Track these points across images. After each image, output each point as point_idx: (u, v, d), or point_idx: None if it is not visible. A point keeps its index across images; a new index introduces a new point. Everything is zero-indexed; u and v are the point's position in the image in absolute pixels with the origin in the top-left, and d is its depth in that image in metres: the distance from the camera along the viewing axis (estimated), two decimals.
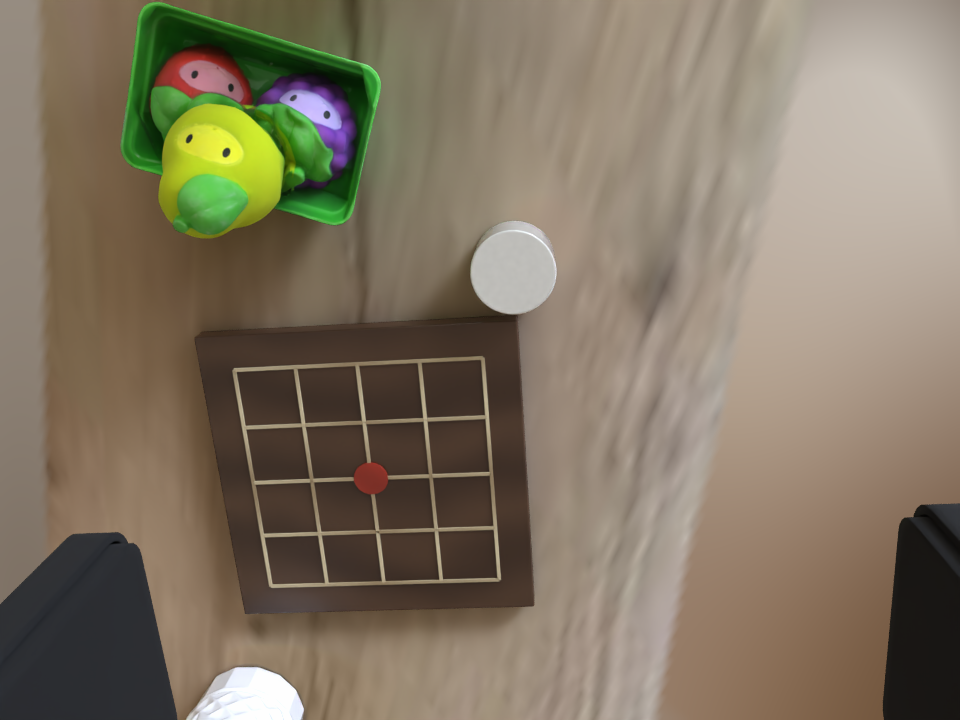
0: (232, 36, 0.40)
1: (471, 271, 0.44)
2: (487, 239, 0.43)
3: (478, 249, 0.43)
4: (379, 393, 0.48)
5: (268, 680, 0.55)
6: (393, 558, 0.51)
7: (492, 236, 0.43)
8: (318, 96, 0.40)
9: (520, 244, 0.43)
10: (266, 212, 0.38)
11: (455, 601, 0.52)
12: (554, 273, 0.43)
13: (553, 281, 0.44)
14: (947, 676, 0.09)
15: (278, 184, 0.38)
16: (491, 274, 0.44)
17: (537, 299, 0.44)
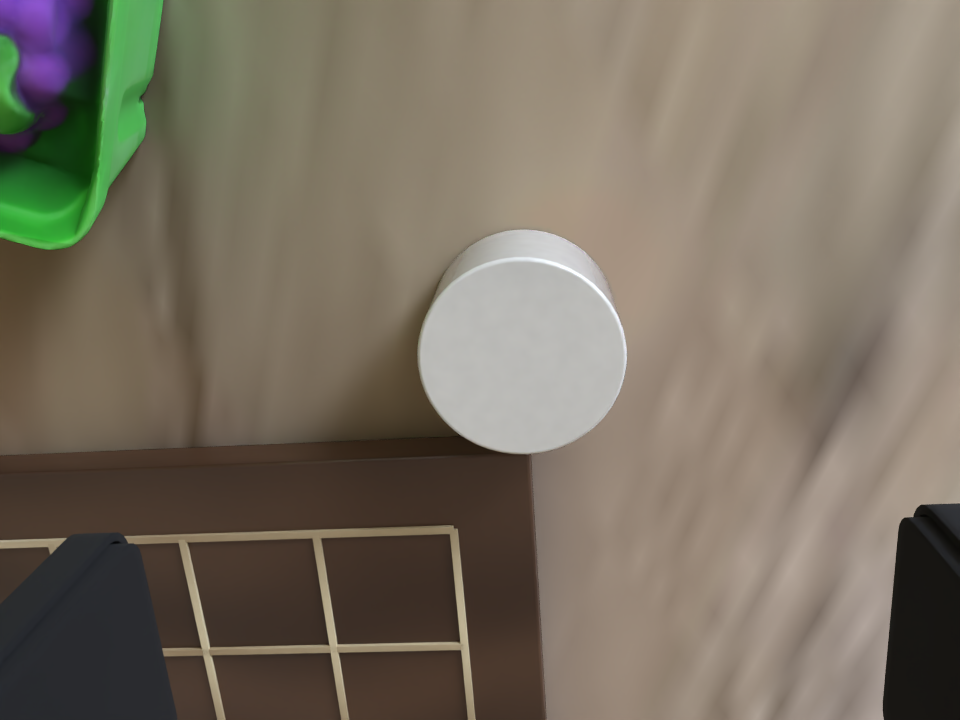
0: None
1: (420, 355, 0.18)
2: (458, 279, 0.17)
3: (436, 303, 0.18)
4: (234, 596, 0.22)
5: None
6: None
7: (470, 272, 0.17)
8: None
9: (540, 292, 0.17)
10: None
11: None
12: (622, 361, 0.18)
13: (619, 380, 0.18)
14: (947, 676, 0.09)
15: None
16: (469, 362, 0.18)
17: (579, 421, 0.18)
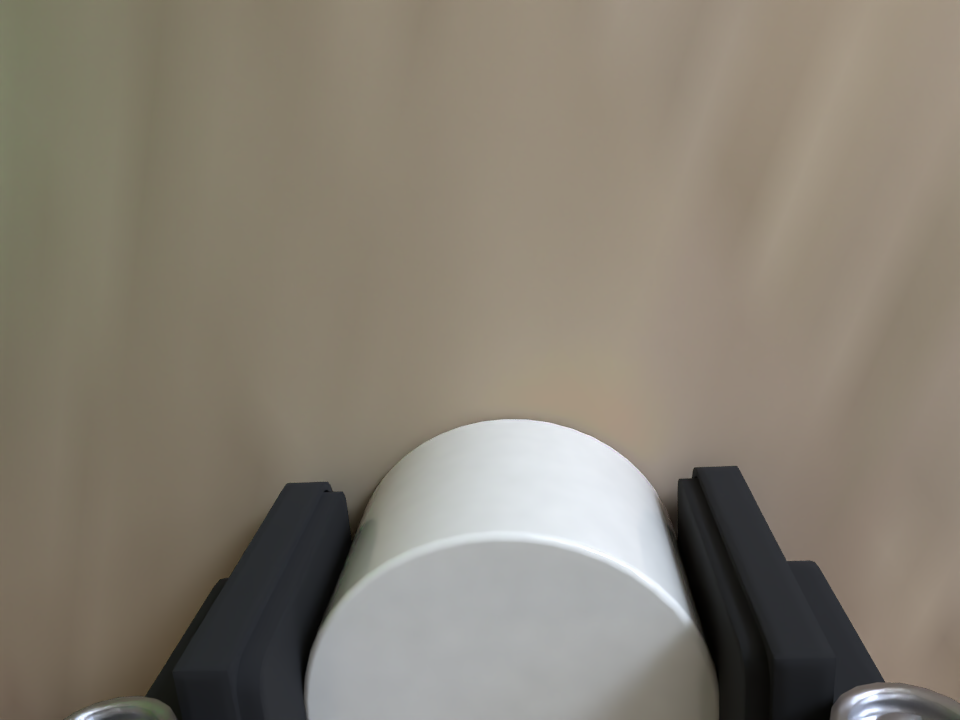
0: None
1: (308, 706, 0.09)
2: (379, 570, 0.09)
3: (336, 614, 0.09)
4: None
5: None
6: None
7: (403, 559, 0.08)
8: None
9: (547, 599, 0.08)
10: None
11: None
12: None
13: None
14: None
15: None
16: None
17: None
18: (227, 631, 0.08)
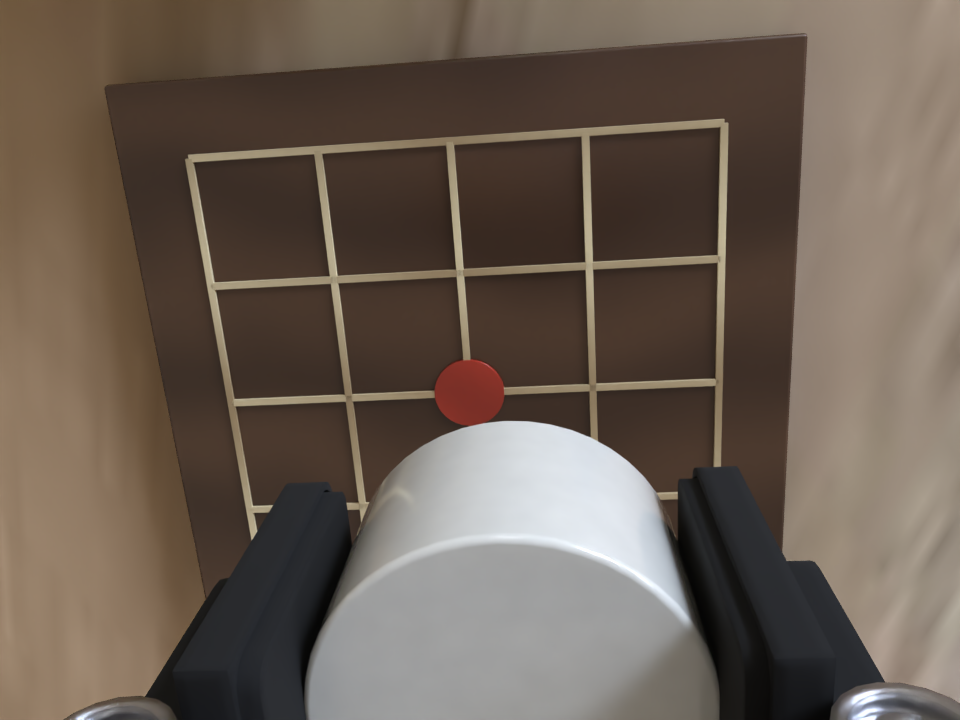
0: None
1: (309, 708, 0.09)
2: (380, 573, 0.09)
3: (337, 617, 0.09)
4: (494, 208, 0.23)
5: None
6: None
7: (404, 561, 0.08)
8: None
9: (547, 601, 0.08)
10: None
11: None
12: None
13: None
14: None
15: None
16: None
17: None
18: (227, 631, 0.08)
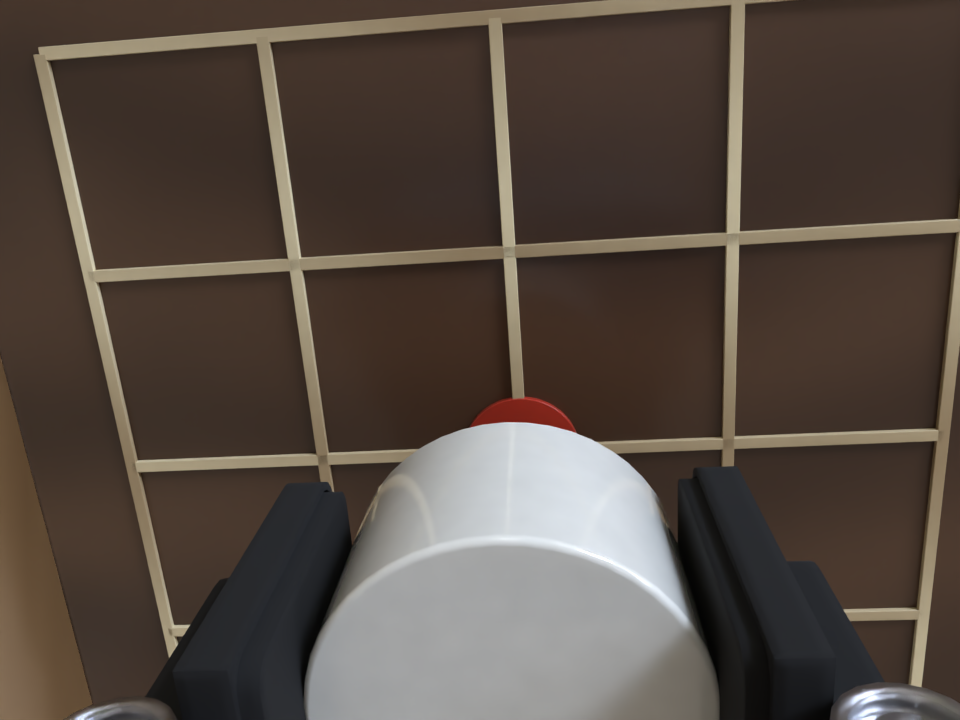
0: None
1: (308, 710, 0.09)
2: (379, 575, 0.09)
3: (336, 618, 0.09)
4: (571, 138, 0.13)
5: None
6: None
7: (404, 563, 0.08)
8: None
9: (547, 603, 0.08)
10: None
11: None
12: None
13: None
14: None
15: None
16: None
17: None
18: (227, 631, 0.08)
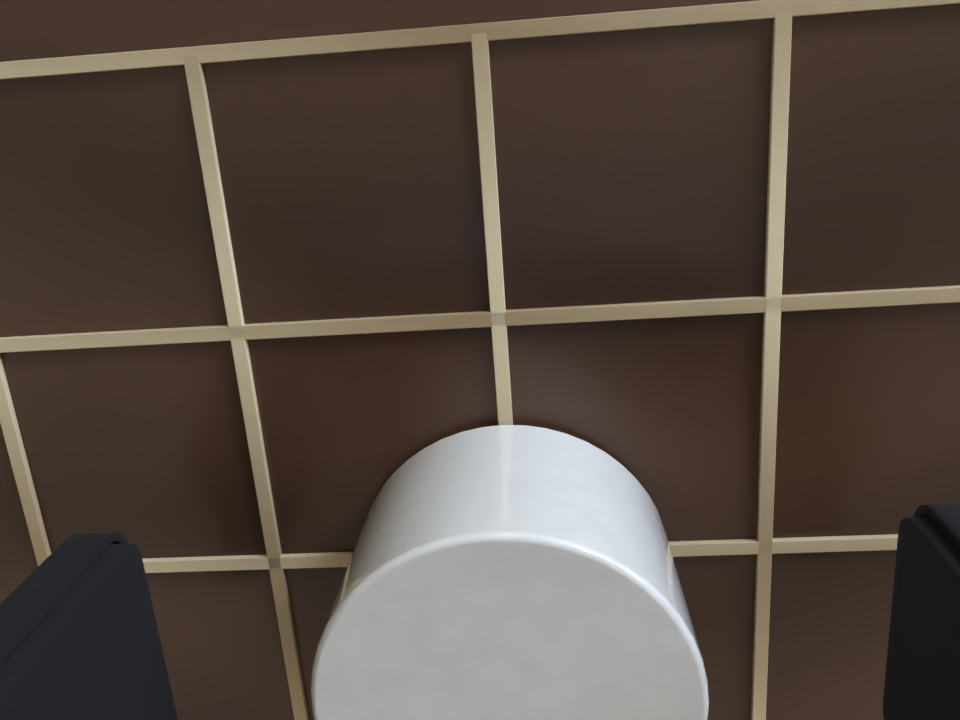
0: None
1: (316, 699, 0.09)
2: (384, 569, 0.09)
3: (343, 611, 0.09)
4: (574, 181, 0.11)
5: None
6: None
7: (407, 558, 0.09)
8: None
9: (542, 596, 0.09)
10: None
11: None
12: (701, 719, 0.09)
13: None
14: (947, 676, 0.09)
15: None
16: (409, 712, 0.09)
17: None
18: None
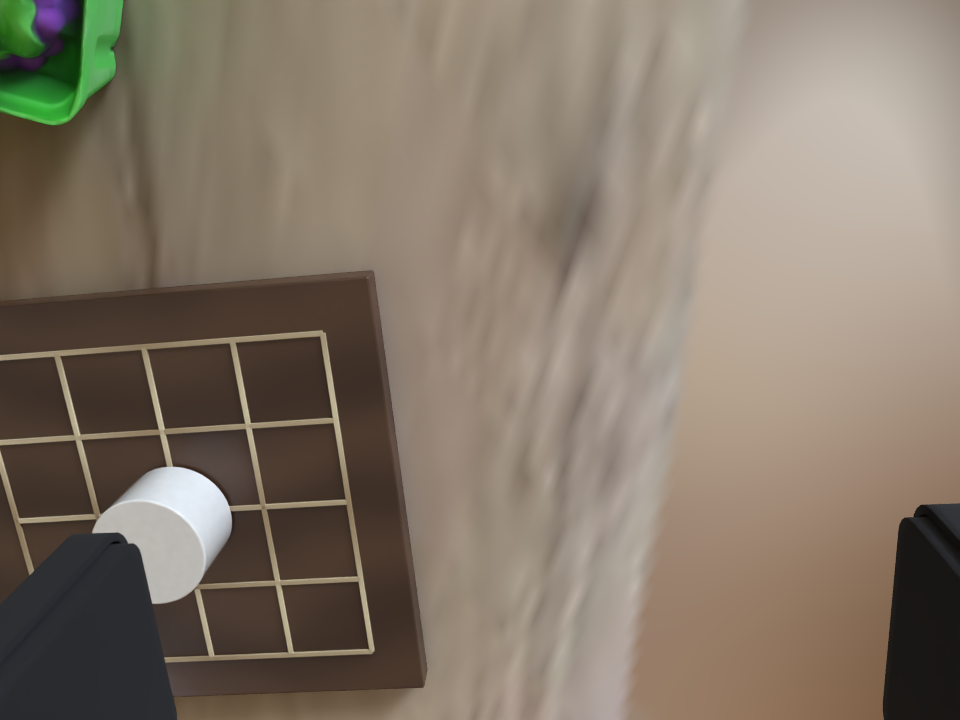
0: None
1: None
2: (107, 511, 0.32)
3: (96, 523, 0.32)
4: (179, 389, 0.33)
5: None
6: (222, 623, 0.36)
7: (112, 507, 0.31)
8: None
9: (150, 517, 0.31)
10: None
11: (313, 682, 0.37)
12: (202, 553, 0.32)
13: (202, 563, 0.32)
14: (947, 676, 0.09)
15: None
16: None
17: (184, 586, 0.32)
18: None
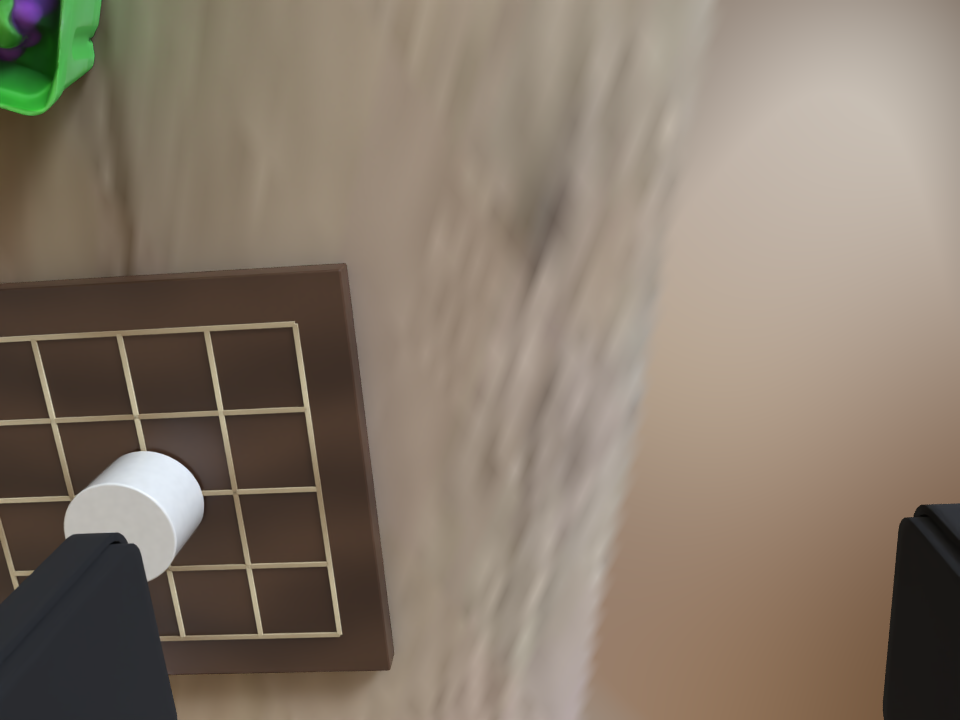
0: None
1: (65, 532, 0.33)
2: (80, 493, 0.32)
3: (70, 505, 0.32)
4: (154, 375, 0.34)
5: None
6: (193, 605, 0.37)
7: (85, 490, 0.32)
8: None
9: (123, 500, 0.32)
10: None
11: (282, 663, 0.38)
12: (173, 537, 0.32)
13: (173, 546, 0.33)
14: (947, 676, 0.09)
15: None
16: None
17: (155, 567, 0.33)
18: None
